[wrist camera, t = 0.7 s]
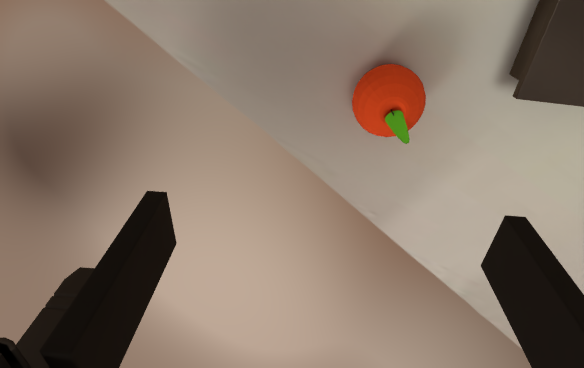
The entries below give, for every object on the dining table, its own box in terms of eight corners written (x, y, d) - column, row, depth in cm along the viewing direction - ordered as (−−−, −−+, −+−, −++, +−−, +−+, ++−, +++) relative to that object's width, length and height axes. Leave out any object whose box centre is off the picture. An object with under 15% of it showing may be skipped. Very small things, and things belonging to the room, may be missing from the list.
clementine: (431, 110, 39) (449, 137, 33) (372, 139, 41) (379, 169, 35) (401, 43, 35) (415, 59, 29) (339, 78, 38) (340, 101, 32)
